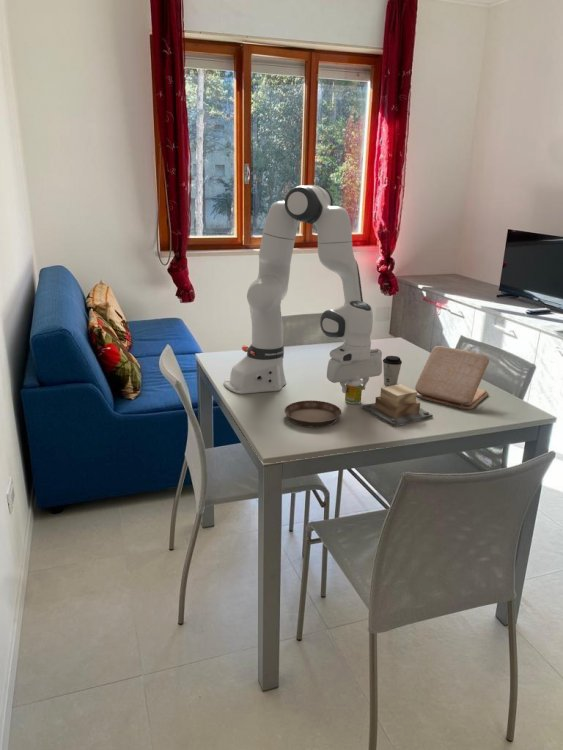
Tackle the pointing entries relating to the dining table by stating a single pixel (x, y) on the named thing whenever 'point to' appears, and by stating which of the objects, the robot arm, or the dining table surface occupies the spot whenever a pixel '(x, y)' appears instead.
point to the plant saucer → (312, 413)
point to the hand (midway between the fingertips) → (353, 390)
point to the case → (453, 377)
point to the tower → (397, 406)
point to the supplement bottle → (354, 391)
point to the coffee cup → (391, 369)
